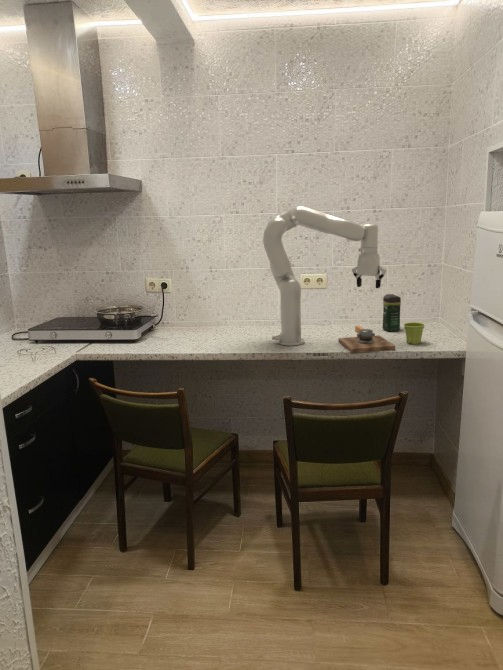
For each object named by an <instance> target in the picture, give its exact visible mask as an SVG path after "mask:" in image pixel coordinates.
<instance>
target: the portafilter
mask: <svg viewBox="0 0 503 670" xmlns="http://www.w3.org/2000/svg"><path fill="white" fill-rule="evenodd" d="M354 332H355V333H356V337H359V340H363V341H369V340H372V339H373V336H376V335H375V334H376V333H375V332H374V331H373V329H370V328H369V329H368V328H364V327H362V326H361V325H355V327H354Z"/></svg>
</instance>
